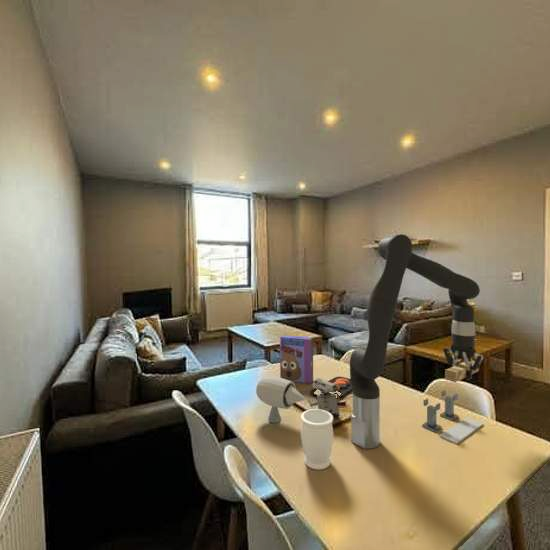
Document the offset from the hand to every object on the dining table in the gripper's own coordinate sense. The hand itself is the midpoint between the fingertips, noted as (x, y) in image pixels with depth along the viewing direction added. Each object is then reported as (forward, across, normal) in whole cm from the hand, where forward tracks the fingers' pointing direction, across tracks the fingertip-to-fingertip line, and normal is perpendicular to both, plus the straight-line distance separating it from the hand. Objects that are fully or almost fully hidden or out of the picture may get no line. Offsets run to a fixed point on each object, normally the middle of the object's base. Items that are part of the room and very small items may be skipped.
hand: (462, 377), depth 116 cm
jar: (+21, -19, -57) cm, 63 cm away
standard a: (+20, -8, -7) cm, 23 cm away
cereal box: (+21, -77, -18) cm, 82 cm away
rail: (-1, 0, 0) cm, 1 cm away
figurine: (+21, -39, -34) cm, 56 cm away
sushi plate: (+21, -48, -8) cm, 53 cm away
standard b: (+20, -8, +7) cm, 23 cm away
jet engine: (+21, -47, -52) cm, 73 cm away
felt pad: (+20, 0, 0) cm, 20 cm away
